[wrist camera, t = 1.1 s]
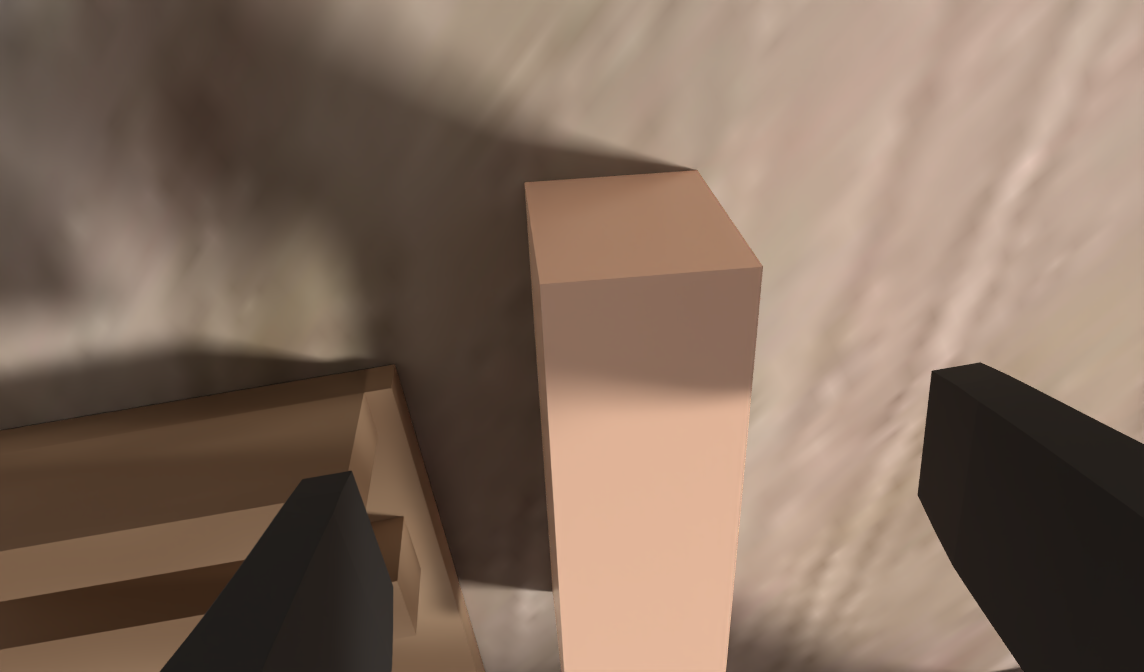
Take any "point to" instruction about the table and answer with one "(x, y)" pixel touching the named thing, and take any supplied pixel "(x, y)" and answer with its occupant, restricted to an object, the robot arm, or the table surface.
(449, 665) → the rack
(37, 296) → the table surface
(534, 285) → the peach rectangular block
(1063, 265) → the table surface
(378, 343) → the table surface
